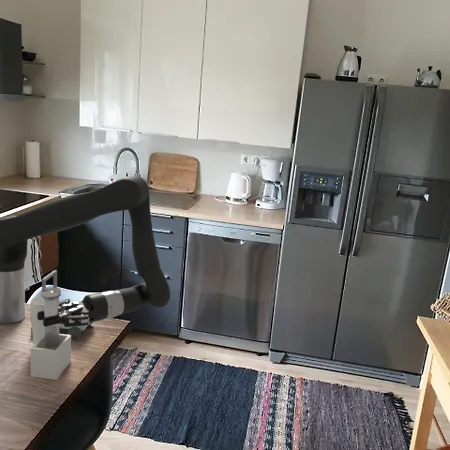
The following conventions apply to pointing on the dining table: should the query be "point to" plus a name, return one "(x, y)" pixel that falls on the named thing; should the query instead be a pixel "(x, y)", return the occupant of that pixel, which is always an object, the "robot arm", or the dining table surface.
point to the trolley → (74, 330)
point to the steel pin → (51, 309)
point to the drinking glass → (37, 325)
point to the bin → (50, 358)
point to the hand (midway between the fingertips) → (40, 319)
